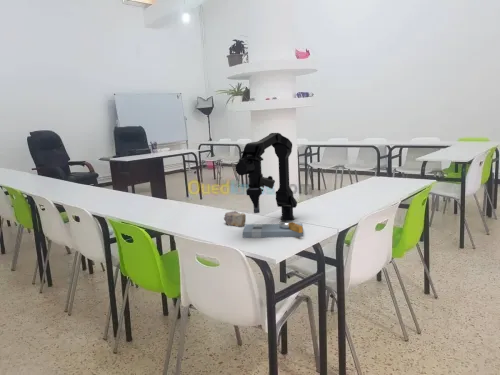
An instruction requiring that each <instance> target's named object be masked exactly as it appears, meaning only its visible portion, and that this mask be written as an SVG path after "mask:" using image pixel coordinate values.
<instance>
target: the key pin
mask: <svg viewBox="0 0 500 375" xmlns="http://www.w3.org/2000/svg"><path fill="white" fill-rule="evenodd" d="M252 206H253V213H254V214H259V213H260V211H261V210H260V200H259V201H258V207H257V208H255V207H254V205H252Z"/></svg>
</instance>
